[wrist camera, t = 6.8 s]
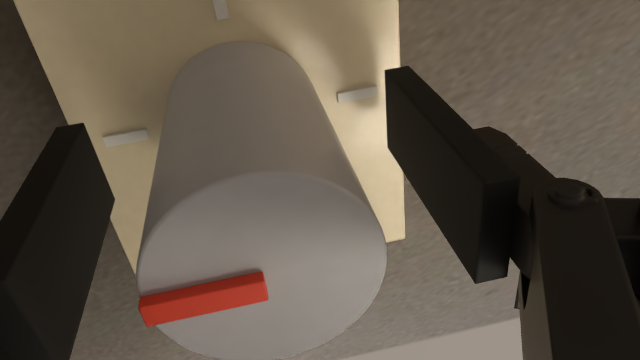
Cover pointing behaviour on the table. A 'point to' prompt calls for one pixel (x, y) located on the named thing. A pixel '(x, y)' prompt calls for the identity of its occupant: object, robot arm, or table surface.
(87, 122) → the panel
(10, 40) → the table surface
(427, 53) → the table surface
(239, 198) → the hob knob
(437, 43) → the table surface
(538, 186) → the robot arm
